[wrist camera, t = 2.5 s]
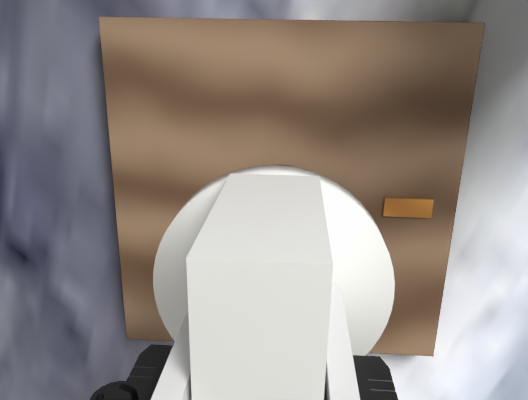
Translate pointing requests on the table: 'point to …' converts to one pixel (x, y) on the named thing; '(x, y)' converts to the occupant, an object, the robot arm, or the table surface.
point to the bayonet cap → (270, 281)
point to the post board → (293, 135)
